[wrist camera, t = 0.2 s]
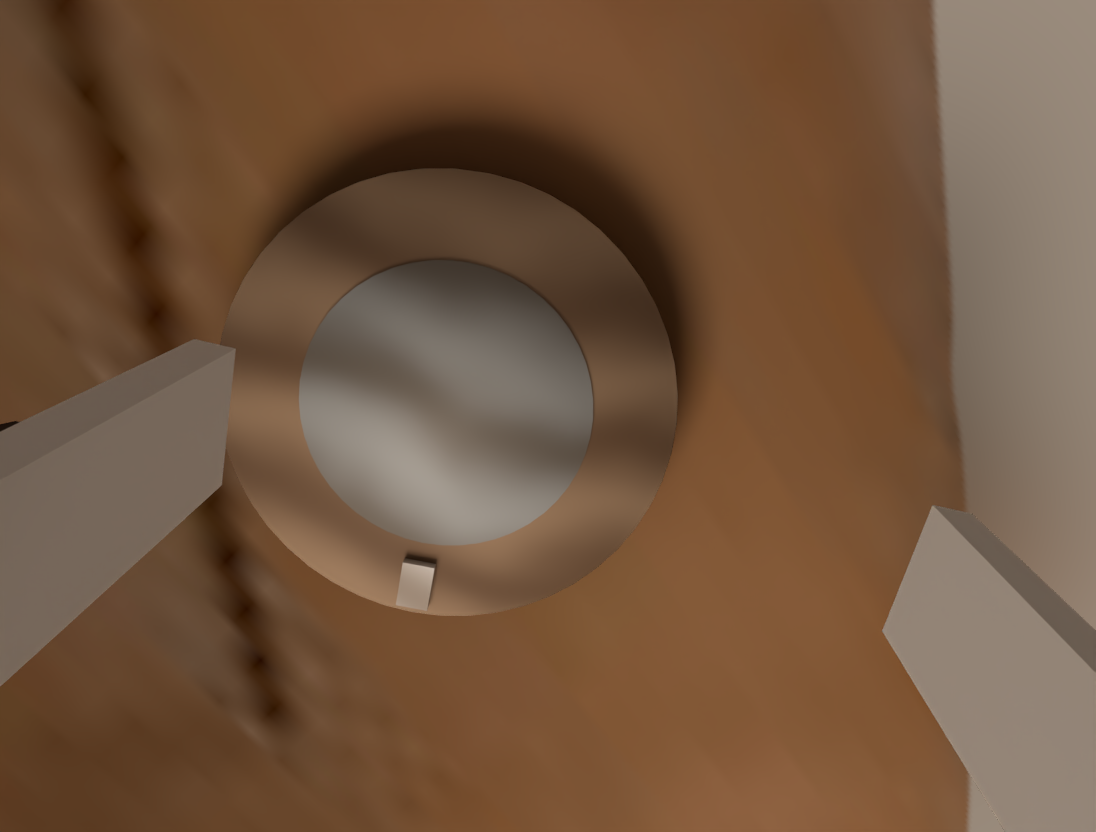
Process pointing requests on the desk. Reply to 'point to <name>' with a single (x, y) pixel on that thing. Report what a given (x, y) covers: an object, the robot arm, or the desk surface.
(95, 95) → the desk surface
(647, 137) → the desk surface
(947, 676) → the robot arm
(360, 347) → the turntable
